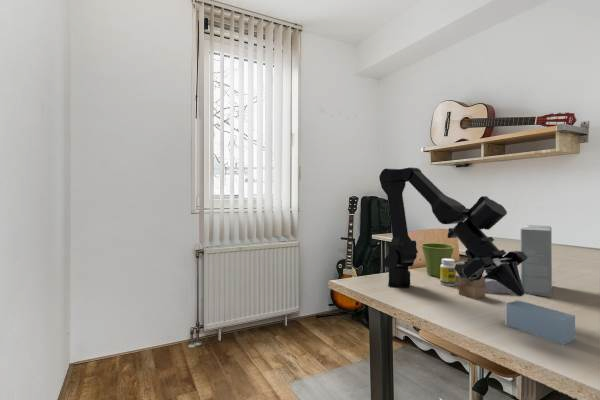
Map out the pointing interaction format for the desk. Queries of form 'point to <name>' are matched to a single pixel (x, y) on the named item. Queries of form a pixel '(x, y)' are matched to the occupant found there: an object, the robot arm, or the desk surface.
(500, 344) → the desk surface
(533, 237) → the hard drive box
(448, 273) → the supplement bottle
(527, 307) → the slate block
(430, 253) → the plant pot
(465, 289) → the walnut block
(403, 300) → the desk surface
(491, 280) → the stone block
